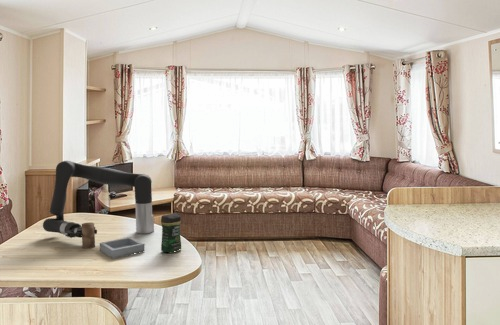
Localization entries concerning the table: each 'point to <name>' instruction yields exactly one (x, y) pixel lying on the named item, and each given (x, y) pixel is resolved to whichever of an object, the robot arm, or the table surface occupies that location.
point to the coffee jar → (171, 232)
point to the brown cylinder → (88, 235)
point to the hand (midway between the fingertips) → (88, 233)
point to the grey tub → (121, 247)
